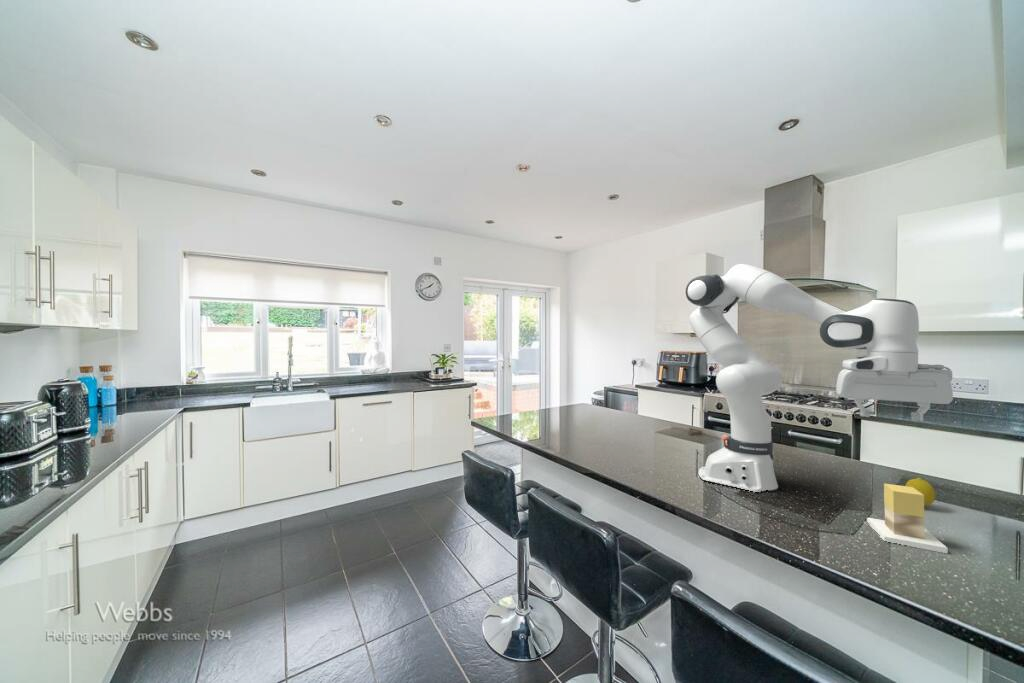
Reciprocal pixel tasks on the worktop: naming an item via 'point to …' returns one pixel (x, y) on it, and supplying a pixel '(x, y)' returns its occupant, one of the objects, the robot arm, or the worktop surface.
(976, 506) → the worktop surface
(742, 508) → the worktop surface
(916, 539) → the plate
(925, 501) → the lemon
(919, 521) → the beech brick
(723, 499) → the worktop surface
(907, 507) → the mustard brick
